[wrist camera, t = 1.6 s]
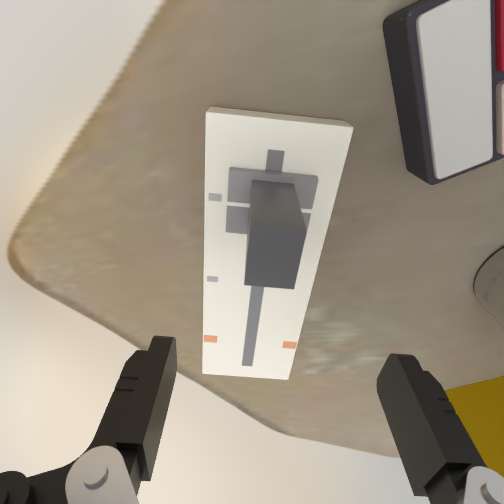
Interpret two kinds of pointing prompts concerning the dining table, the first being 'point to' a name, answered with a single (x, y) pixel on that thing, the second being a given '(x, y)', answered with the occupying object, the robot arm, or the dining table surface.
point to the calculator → (448, 84)
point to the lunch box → (483, 418)
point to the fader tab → (270, 222)
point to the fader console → (234, 245)
